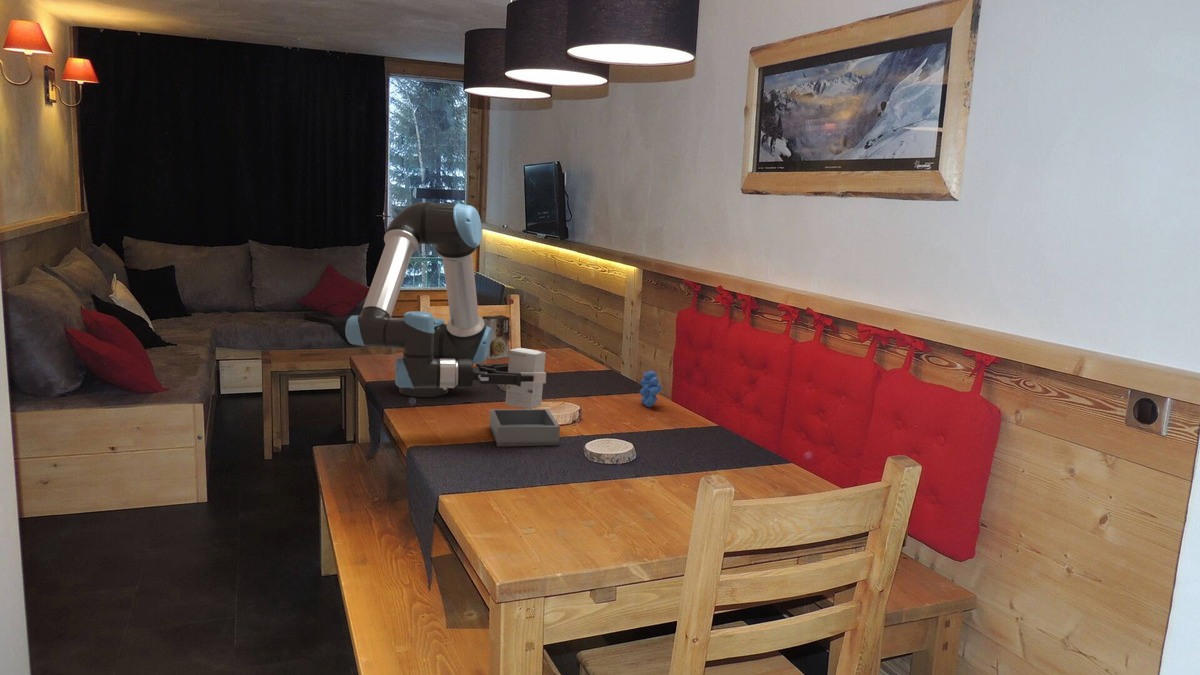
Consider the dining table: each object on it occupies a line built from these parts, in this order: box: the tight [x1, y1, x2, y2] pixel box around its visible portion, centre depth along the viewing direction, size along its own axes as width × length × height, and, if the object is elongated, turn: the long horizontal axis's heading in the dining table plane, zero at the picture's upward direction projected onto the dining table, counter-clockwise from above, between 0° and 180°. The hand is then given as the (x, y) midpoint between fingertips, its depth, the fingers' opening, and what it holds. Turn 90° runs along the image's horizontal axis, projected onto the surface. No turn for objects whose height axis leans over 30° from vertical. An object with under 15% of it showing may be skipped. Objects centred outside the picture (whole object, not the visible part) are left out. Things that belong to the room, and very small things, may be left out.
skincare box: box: [504, 347, 547, 409], centre depth 220 cm, size 8×6×15 cm
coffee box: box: [481, 314, 511, 360], centre depth 326 cm, size 9×6×16 cm
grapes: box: [639, 370, 663, 408], centre depth 260 cm, size 12×7×12 cm, turn 18°
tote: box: [489, 408, 561, 447], centre depth 223 cm, size 18×16×5 cm
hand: (542, 373), depth 221 cm, fingers closed on skincare box, 9 cm apart
